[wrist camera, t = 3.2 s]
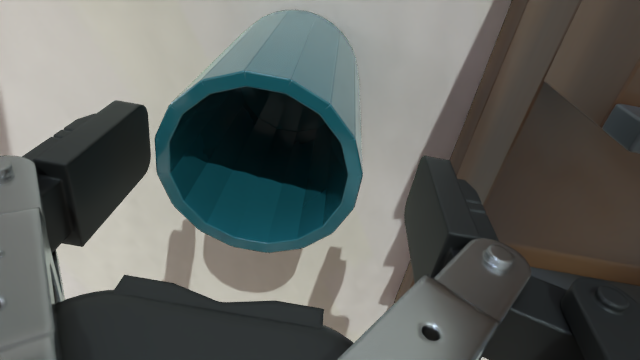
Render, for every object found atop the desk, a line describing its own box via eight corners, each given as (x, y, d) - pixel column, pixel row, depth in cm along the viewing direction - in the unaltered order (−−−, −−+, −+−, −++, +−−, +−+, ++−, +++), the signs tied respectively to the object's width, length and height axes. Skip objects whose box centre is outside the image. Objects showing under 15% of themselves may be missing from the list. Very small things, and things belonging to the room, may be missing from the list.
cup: (230, 121, 20) (159, 234, 13) (237, -3, 17) (149, 52, 10) (344, 142, 20) (339, 266, 13) (371, 23, 17) (384, 97, 10)
